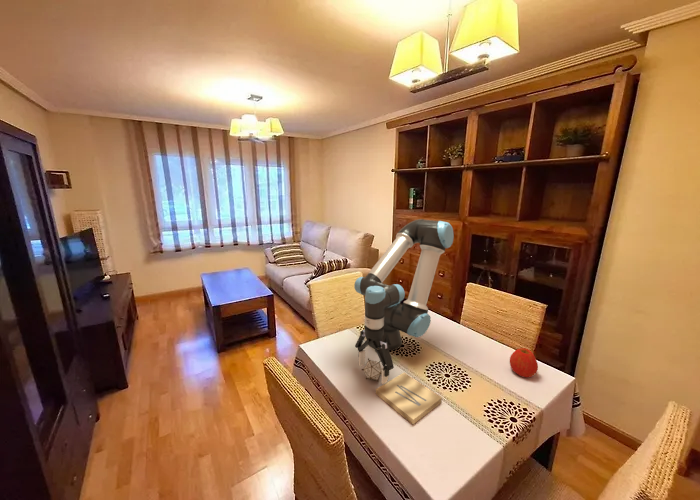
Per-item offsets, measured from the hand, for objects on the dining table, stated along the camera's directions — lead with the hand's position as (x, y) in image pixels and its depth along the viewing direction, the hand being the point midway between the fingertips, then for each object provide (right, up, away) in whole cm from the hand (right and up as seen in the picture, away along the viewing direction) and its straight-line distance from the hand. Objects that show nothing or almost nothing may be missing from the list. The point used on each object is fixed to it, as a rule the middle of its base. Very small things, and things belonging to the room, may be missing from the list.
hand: (372, 373), depth 115 cm
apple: (+64, -2, +5) cm, 64 cm away
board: (+12, -5, -10) cm, 17 cm away
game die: (0, -3, +1) cm, 3 cm away
